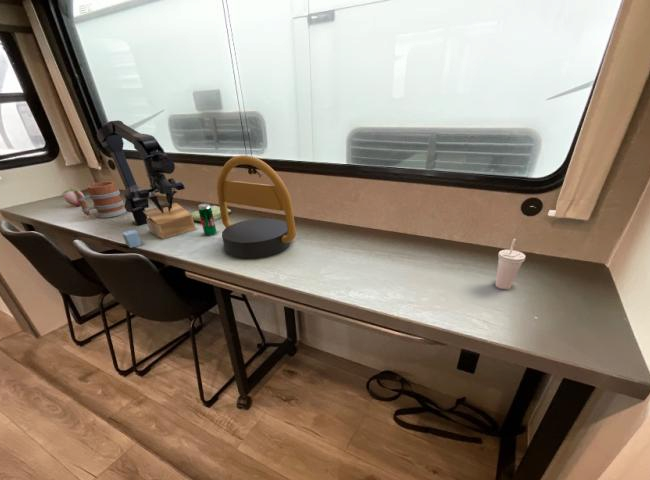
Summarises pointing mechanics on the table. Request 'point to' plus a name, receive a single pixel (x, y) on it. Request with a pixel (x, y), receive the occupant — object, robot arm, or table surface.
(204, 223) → the soda can
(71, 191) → the decorative fruit
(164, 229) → the wooden box
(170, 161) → the robot arm
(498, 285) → the smoothie
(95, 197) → the mug
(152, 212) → the lid
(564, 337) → the table surface
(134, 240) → the block
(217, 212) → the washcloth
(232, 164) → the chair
